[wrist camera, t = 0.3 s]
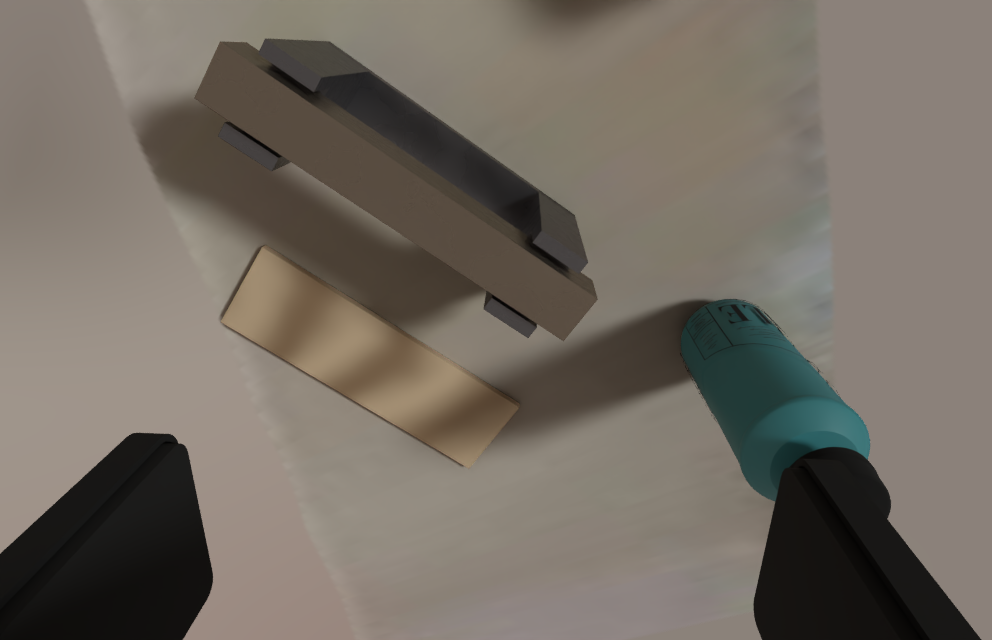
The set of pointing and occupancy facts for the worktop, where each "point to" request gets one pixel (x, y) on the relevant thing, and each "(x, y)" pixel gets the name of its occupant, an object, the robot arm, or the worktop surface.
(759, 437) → the beverage bottle
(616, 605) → the worktop surface
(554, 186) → the worktop surface
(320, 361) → the mat
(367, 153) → the rail
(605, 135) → the worktop surface
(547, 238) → the rack
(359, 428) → the worktop surface
